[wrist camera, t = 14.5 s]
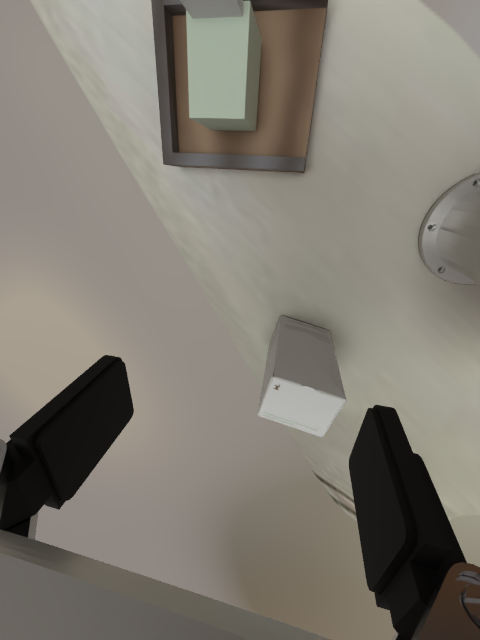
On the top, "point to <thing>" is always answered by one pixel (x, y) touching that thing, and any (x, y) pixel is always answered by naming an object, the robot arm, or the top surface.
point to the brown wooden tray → (273, 96)
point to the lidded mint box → (223, 63)
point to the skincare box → (301, 378)
